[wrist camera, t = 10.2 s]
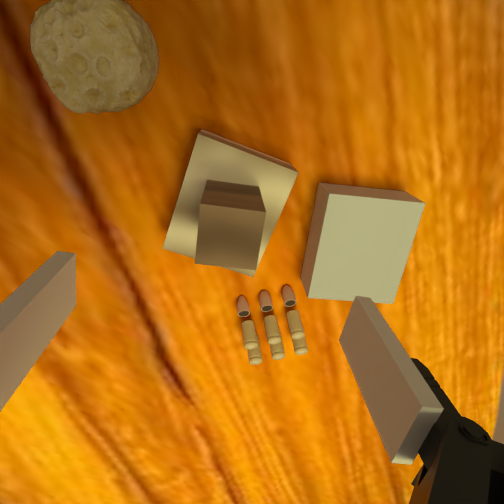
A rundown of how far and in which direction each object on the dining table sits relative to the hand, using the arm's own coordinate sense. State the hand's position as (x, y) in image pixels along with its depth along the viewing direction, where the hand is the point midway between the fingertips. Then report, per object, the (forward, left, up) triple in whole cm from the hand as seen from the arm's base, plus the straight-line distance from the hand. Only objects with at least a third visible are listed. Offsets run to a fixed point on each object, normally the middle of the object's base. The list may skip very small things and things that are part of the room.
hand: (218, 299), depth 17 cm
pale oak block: (+2, +1, -24) cm, 24 cm away
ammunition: (+16, +9, -24) cm, 30 cm away
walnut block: (+1, +1, -19) cm, 19 cm away
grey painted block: (+4, +16, -24) cm, 29 cm away
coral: (-9, -12, -24) cm, 29 cm away
